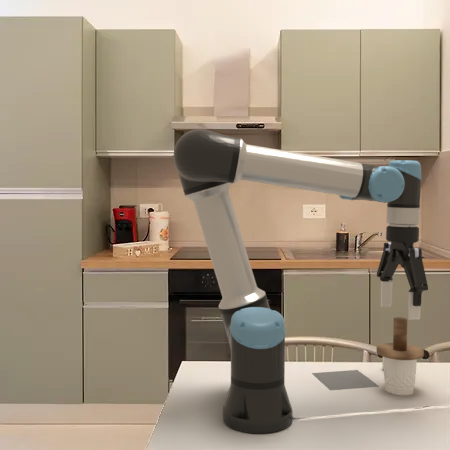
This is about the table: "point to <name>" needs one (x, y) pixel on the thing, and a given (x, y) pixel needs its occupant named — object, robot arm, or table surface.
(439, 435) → the table surface
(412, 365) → the white cup
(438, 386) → the table surface
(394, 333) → the walnut lid
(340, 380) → the mat
